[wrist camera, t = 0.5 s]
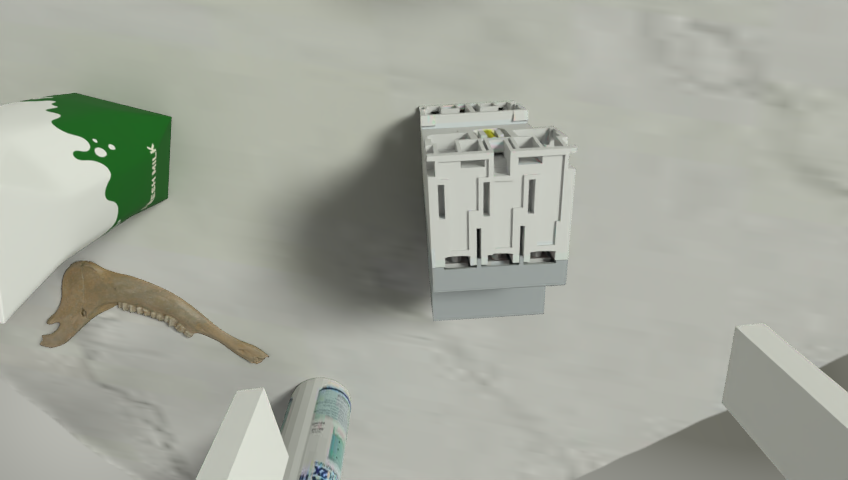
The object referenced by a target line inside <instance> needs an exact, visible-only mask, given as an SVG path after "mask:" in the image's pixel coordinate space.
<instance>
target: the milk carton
mask: <svg viewBox="0 0 848 480" xmlns="http://www.w3.org/2000/svg"><path fill="white" fill-rule="evenodd" d="M170 139H171V117H170V116H166V115H162V114H158V113H154V112H150V111H146V110H141V109H137V108H133V107H129V106H125V105H121V104H117V103H113V102H109V101H105V100H101V99H97V98H93V97H89V96H85V95H81V94H77V93H72V94H62V95H53V96H47V97H42V98H36V99H31V100H25V101H20V102H14V103H8V104H3V105H0V323H1V324H4V323H5V322H6V321H7V320H8V319H9V318H10V317H11V316H12V315H13V314H14V313H15V312H16V310H17V309H18V308H19V307H20V306H21V305H22V304H23V303H24V302H25V301H26V300H27V299H28V298H29V297H30V296H31V295H32V294H33V293H34V291H35V290H36V289H37V288H38V287H39V286H40V285H41V284H42V283H43V282H44V281H45V280H46V279H47V278H48V277H49V276H50V275H51V274H52V273H53V272H54V270H55V269H56V268H57V267H58V266H59V265H60V264H62V263H63V262H64V261H65V260H67V259H68V258H70V257H71V256H73V255H74V254H76V253H77V252H79V251H80V250H82V249H83V248H85V247H86V246H88V245H89V244H91V243H92V242H93V241H95V240H96V239H98V238H99V237H101V236H102V235H104V234H105V233H107V232H108V231H110V230H111V229H113V228H114V227H116V226H117V225H119V224H120V223H122V222H123V221H125V220H126V219H128V218H129V217H131V216H133V215H135V214H137V213H139V212H141V211H143V210H145V209H147V208H149V207H151V206H153V205H155V204H157V203H159V202H161V201H163V200H165V199H167V198H168V182H169V160H170Z"/></svg>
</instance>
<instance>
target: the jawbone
mask: <svg viewBox="0 0 848 480" xmlns="http://www.w3.org/2000/svg"><path fill="white" fill-rule="evenodd" d="M114 288H116V289H114ZM116 305H118V308H123V311H124V310H126V311H128V310H130V313H131V312H134V313H135V312H137V314H142V315H143V314H144V316H151V318H155V319H158V321H164V322H167V323H168V325H169V326H174V327H175V329H176V330H177V331H179V332H183V333H184V334H185V336H186V337H188V338H190V337H192V336H193V334H195V333H201V334H203V335H206V336H208V337H211V338H213V339H215V340H217V341H219V342H220V343H222V344H223V345H225V346H226V347H227V348H229V349H230V350H231V351H233V352H234V353H236V354H237V355H239V356H241V357H242V358H244V359H246V360H248V361H249V362H251V363H256V364H258V363H260V362H262V361H263V359H265V357H269V356H268V355H267V354H265V353H264V352H263V351H261V350H260V349H259V348H257V347H255V346H253V345H251V344H248V343H245V342H243V341H240V340H238V339H236V338H234V337H232V336H231V335H229V334H227V333H225V332H224V331H222V330H221V329H219V328H218V327H217V326H215V325H214V324H213V323H212V322H211V321H209V320H208V319H207V318H206V317H205V316H203V315H202V314H201V313H200V312H199V311H197V310H196V309H195V308H194V307H192V306H191V305H190V304H188V303H187V302H185V301H184V300H183V299H181V298H180V297H178V296H176V295H175V294H173V293H171V292H169V291H167V290H165V289H163V288H161V287H159V286H156V285H154V284H152V283H149V282H146V281H144V280H141V279H138V278H135V277H132V276H128V275H124V274H119V273H115V272H112V271H109V270H106V269H104V268H102V267H100V266H98V265H97V264H95V263H93V262H91V261H89V262H88V261H81V262H80V261H79V262H75V263H73V264H71V266H70V267H69V268H68V269H67V270H66V272H65V274H64V276H63V280H62V299H61V304H60V306H59V308H58V310H57V311H56V313H55V314H53V315H52V316H51V317H50V318H49V319H48V321H47V324H53V323H56V322H59V323H60V326H59V328H58V329H57V330H56V331H55V332H54V333H52V334H49V335H42V337H43V341H41V343H40V345H42V346H45V347H50V348H53V347H57V346H60V345H62V344H65V343H66V342H68V341H69V340H70V339H71V338H72V337H73V336H74V335H75V334H76V333H77V332H78V331H79V330H80V329H81V328H82V327H83V326H84V325H86V324H87V323H88V322H89V321H90V320H91V319H92V318H94V317H95V316H97V315H98V314H100V313H102V312H104V311H106V310H108V309H110V308H112V307H114V306H116Z"/></svg>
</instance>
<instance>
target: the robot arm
mask: <svg viewBox="0 0 848 480" xmlns="http://www.w3.org/2000/svg"><path fill="white" fill-rule="evenodd" d="M722 403H723V405H724V406H725V407H726V408H727V409H728V411H729V412H730V413H731V414H732V415H733V416H734V418H735V419H736V420H737V421H738V422H739V424H740V425H741V426H742V427H743V428H744V430H745V431H746V432H747V433H748V434H749V436H750V437H751V438H752V439H753V440H754V441H755V443H756V444H757V445H758V446H759V447H760V449H761V450H762V451H763V452H764V453H765V455H766V456H767V457H768V458H769V459H770V461H771V462H772V463H773V464H774V465H775V466H776V468H777V469H778V470H779V471H780V472H781V474H782V475H783V476H784V477H785V478H786V479H787V480H848V392H846V391H845V390H844V389H843V388H842V387H840V386H839V385H838V384H837V383H836V382H834V381H833V380H832V379H831V378H830V377H828V376H827V375H826V374H825V373H824V372H822V371H821V370H820V369H819V368H818V367H816V366H815V365H814V364H813V363H812V362H810V361H809V360H808V359H807V358H805V357H804V356H803V355H802V354H801V353H799V352H798V351H797V350H796V349H795V348H793V347H792V346H791V345H790V344H789V343H787V342H786V341H785V340H784V339H782V338H781V337H780V336H779V335H778V334H776V333H775V332H774V331H773V330H772V329H770V328H769V327H768V326H767V325H766V324H764V323H759V324H752V325H744V326H736V327H735V332H734V337H733V343H732V348H731V354H730V360H729V365H728V371H727V376H726V382H725V387H724V393H723V399H722ZM288 458H289V456H288V453H287V450H286V447H285V445H284V442H283V439H282V436H281V434H280V431H279V428H278V425H277V422H276V420H275V417H274V414H273V411H272V409H271V406H270V403H269V400H268V397H267V395H266V392H265V389H264V387H263V388H255V389H248V390H240V391H237V392H236V394H235V396H234V399H233V401H232V403H231V405H230V407H229V409H228V411H227V414H226V416H225V418H224V420H223V422H222V424H221V426H220V428H219V431H218V433H217V435H216V437H215V439H214V441H213V443H212V446H211V448H210V450H209V452H208V454H207V456H206V458H205V461H204V463H203V465H202V467H201V469H200V471H199V473H198V476H197V478H196V480H283V476H284V473H285V469H286V465H287V462H288Z"/></svg>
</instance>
